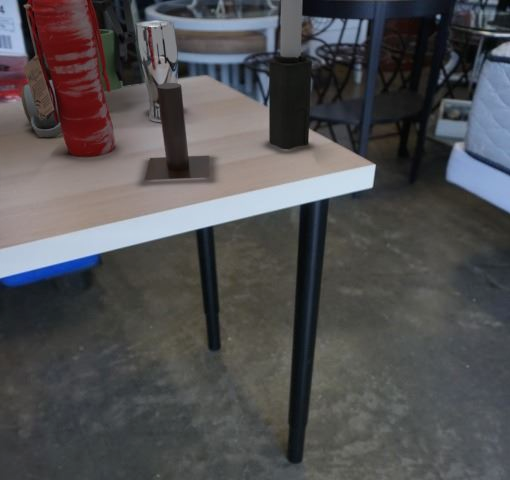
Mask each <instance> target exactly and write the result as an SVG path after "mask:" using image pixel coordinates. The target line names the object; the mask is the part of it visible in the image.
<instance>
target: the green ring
mask: <svg viewBox="0 0 510 480" xmlns="http://www.w3.org/2000/svg"><path fill="white" fill-rule="evenodd" d="M99 31H100V35H101V39H102V45H103V51H104V57H105V62H106V68H105V72H106V74H107V76H108V79H109V83H110V91H116V90H119V89H122V88H123V86H124V84H123V83H124V82H123V81H119V80H118V77H117V74H116V70H115V45H114V38H116V35H115V34H116V33H115V30H114V29H113V30H111V29H104V28H103V29H101V28H99ZM97 34H98V32H97ZM95 37H96V36H95ZM98 38H99V37H98ZM96 42H97V40H96ZM99 42H100V41H99ZM97 51H98V60H99V69H100V74H101V80H102V85H103V90H104V92H107V88H106V83H105V79H104V77H103V75H102V72H103V69H102V63H101V58H100V53H99V49H98V44H97Z"/></svg>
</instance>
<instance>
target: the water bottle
mask: <svg viewBox="0 0 510 480" xmlns="http://www.w3.org/2000/svg"><path fill="white" fill-rule="evenodd" d="M23 8H25V14H26V20H27V24H28V29H29V33H30V38H31V42H32V46H33V50H34V54H35V55H34V56H33V57H32V58H31V59H30V60H29V61H28V62H27V63H26V64H25V65H24V66H23V72H24V75H25V78H26V81H27V84H29V87H30V91H31V94H32V97H33V100H34V103H35V106H36V109H37V113H38V116H39V119H40V121H41V120H42V119H43V118H45V117H47V120H49V118H50V116H51V114H52V113H53V114H54V118H55V121H56V122H58V117H57V111H56V102H57V108H58V113H59V119H60V124H61V129H62V133H61V134H62V136H63V141H64V144H65V146H66V148H67V150H68V151H69V153H70V154H71V155H72V156H76V157H82V158H83V157H85V158H90V157H91V158H92V157H98V156H102V155H105V154H108V153H110V152H112V151H113V149H114V148H115V144H116V140H115V133H114V127H113V122H112V118H111V114H110V110H109V106H108V102H107V99H106V95H105V91H104V90H103V85H102V80H101V74H100V69H99V60H98V51H97V44H98V49H99V53H100V58H101V63H102V69H103V72H102V75H103V77H104V79H105V83H106V88H107V91H106V92H107V93H111V91H110V83H109V79H108V76H107V74H106V72H105V68H106V62H105V57H104V51H103V45H102V39H101V35H100V31H99V30H100V27H99V22H98V18H97V14H96V11H95V10H94V7H93V5H92V2H91V0H27V3H25V4H23ZM92 11H93V12H92ZM36 30H37V31H36ZM97 32H98V34H97ZM95 36H96V37H95ZM98 37H99V38H98ZM96 40H97V42H96ZM99 41H100V42H99ZM43 56H44V58H45V61H46V64H47V67H48V71H49V75H50V79H49V78H48V75H47V71H46V68H45V64H44V61H43ZM49 80H52V83H53V87H54V91H55V95H54V93H53V90H52V87H51V84H50V82H49ZM50 91H51V92H50ZM51 94H52V96H51ZM52 97H53V100H52ZM55 97H56V102H55Z"/></svg>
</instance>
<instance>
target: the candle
mask: <svg viewBox="0 0 510 480" xmlns="http://www.w3.org/2000/svg"><path fill="white" fill-rule="evenodd" d="M302 22H303V0H280V51H279V52H278V53H275V54H274V58H270V59H269V60H268V80H269V81H268V96H269V97H268V102H269V103H268V109H269V110H268V120H269V121H268V129H269V131H268V134H269V135H268V138H269V140H268V141H269V142H268V143H269V144H271V145H273V146H274V147H277V148H280V149H282V150H291V149H294V148H297V147H302V146H306V145H309V138H310V137H309V136H310V118H311V117H310V114H311V95H312V94H311V93H312V71H313V67H312V66H313V60H312V59H309V58H308V57H307V53H306V52H305V53H304V52H302V26H303V24H302Z"/></svg>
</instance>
